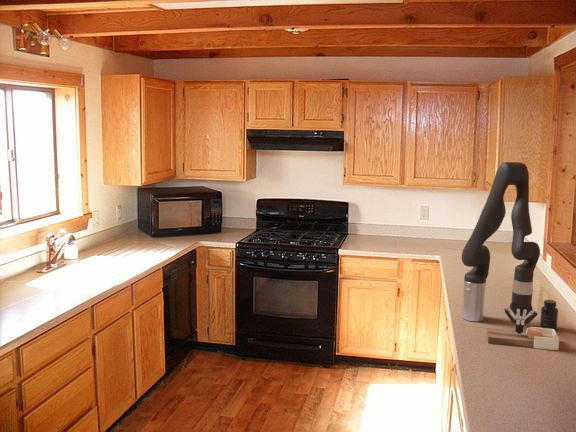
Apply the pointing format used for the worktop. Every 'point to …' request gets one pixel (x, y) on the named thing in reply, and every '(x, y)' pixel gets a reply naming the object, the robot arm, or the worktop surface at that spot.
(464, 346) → the worktop surface
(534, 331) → the tile
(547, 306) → the supplement bottle
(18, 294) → the worktop surface
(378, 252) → the worktop surface
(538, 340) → the tray
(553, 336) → the tile
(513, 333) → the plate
